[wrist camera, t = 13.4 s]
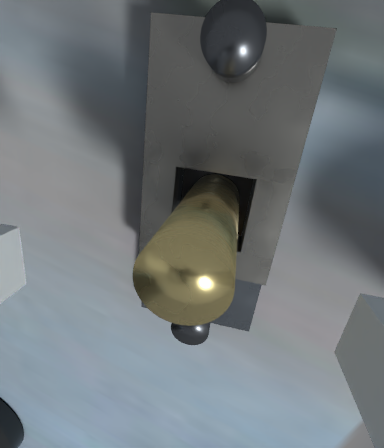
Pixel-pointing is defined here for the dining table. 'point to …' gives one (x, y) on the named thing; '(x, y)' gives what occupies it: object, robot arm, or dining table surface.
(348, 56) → the dining table surface
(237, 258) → the toggle switch plate
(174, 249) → the toggle switch lever
